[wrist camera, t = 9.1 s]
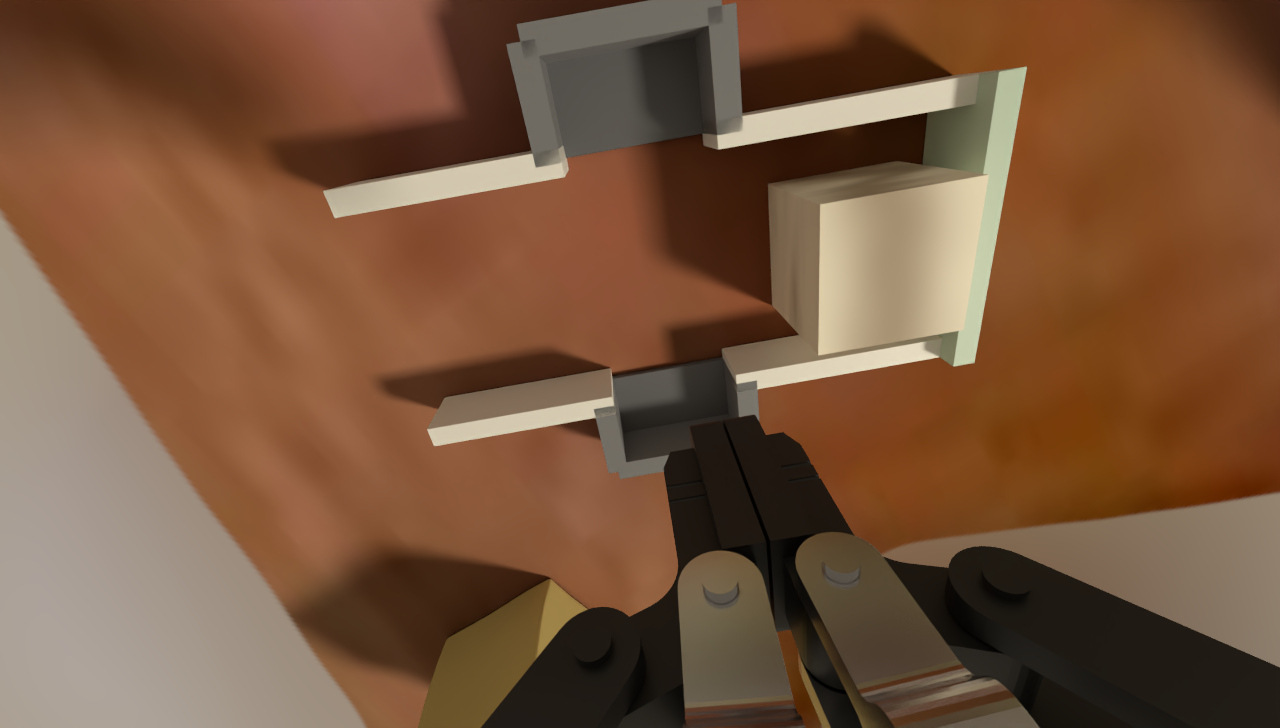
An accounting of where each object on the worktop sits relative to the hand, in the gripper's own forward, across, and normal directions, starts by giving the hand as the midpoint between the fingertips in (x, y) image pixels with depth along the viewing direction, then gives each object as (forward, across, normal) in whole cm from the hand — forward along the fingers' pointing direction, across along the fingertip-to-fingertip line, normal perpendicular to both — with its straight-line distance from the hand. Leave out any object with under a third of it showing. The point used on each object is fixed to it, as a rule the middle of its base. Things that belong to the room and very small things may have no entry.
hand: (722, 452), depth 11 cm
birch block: (+14, -8, 0) cm, 17 cm away
